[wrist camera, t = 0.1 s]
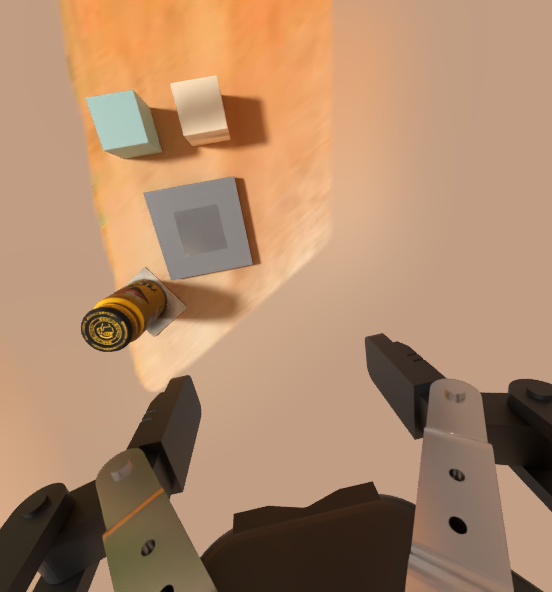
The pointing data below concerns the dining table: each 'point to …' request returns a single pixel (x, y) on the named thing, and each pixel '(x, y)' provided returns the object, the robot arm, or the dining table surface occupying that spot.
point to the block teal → (124, 124)
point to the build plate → (200, 227)
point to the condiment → (131, 313)
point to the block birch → (201, 110)
